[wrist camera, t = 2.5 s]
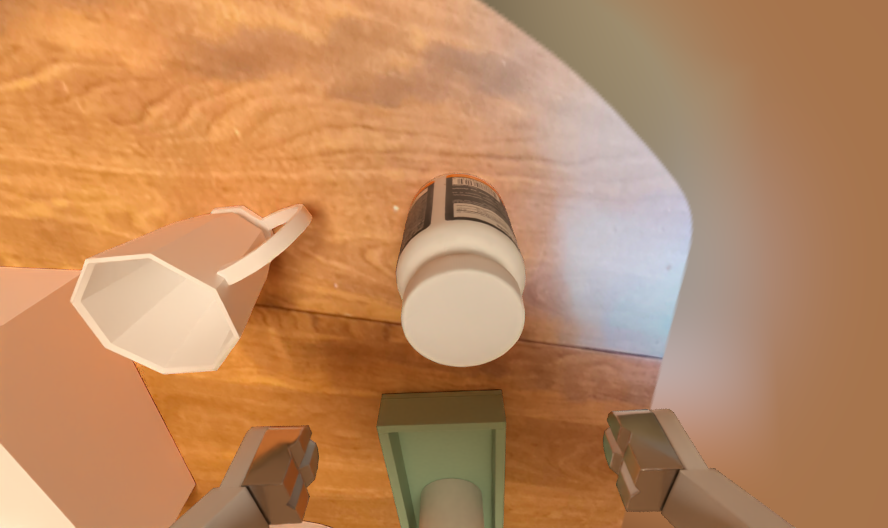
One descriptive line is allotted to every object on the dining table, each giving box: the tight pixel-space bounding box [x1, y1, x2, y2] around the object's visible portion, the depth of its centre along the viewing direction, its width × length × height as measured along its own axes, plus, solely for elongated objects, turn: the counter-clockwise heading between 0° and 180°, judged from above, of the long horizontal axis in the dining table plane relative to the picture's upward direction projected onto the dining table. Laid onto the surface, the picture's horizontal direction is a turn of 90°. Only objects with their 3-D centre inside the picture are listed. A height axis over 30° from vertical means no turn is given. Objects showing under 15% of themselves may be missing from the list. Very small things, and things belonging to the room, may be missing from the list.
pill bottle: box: [396, 173, 526, 367], centre depth 19 cm, size 6×6×10 cm
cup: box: [70, 204, 312, 374], centre depth 20 cm, size 7×10×8 cm
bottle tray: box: [376, 390, 506, 528], centre depth 36 cm, size 26×10×3 cm, turn 4°
